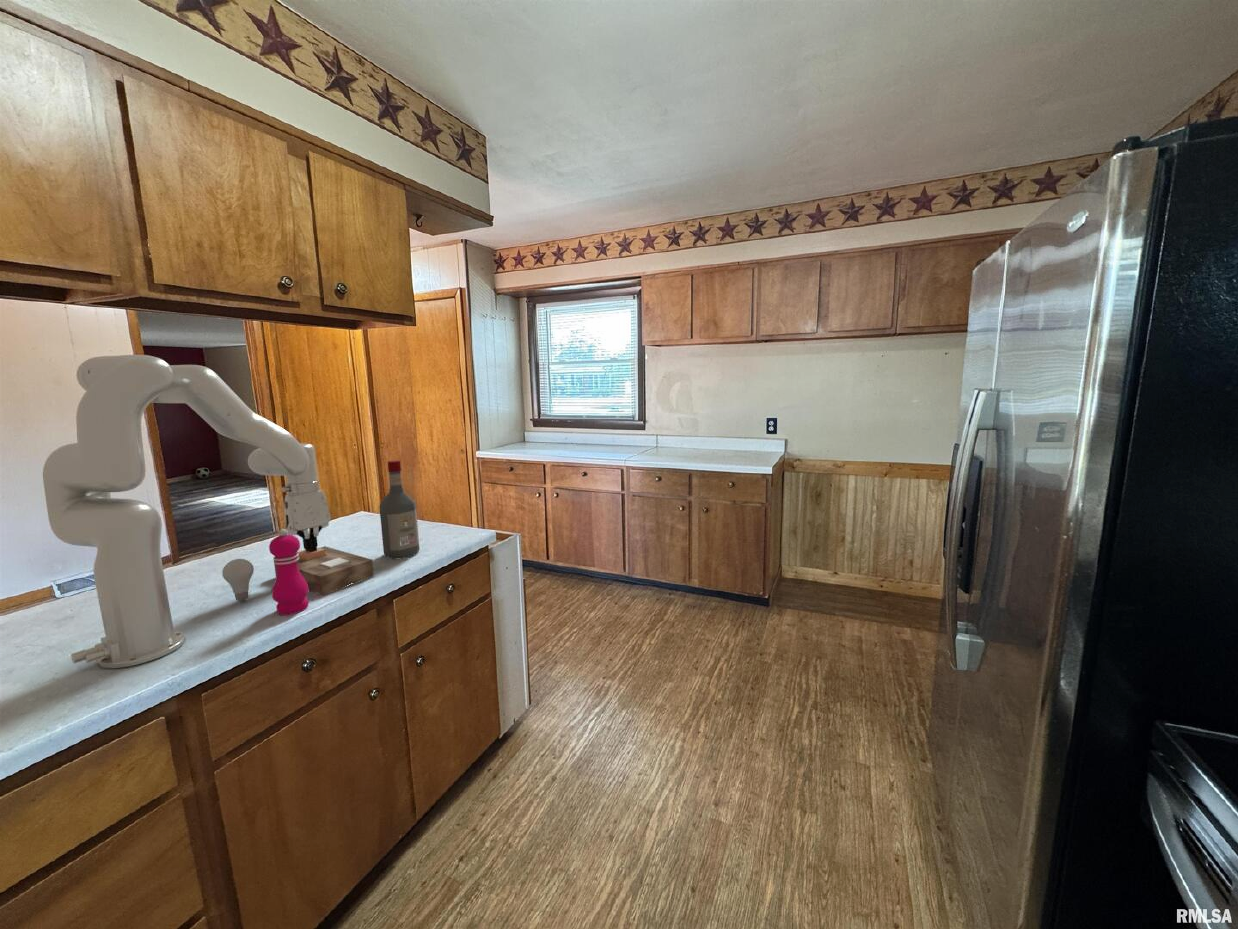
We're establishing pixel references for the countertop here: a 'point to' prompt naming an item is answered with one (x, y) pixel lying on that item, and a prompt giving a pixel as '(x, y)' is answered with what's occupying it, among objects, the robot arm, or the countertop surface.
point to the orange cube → (311, 554)
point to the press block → (334, 571)
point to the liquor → (398, 518)
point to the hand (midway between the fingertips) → (311, 550)
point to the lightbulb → (238, 577)
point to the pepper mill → (288, 575)
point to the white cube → (334, 563)
